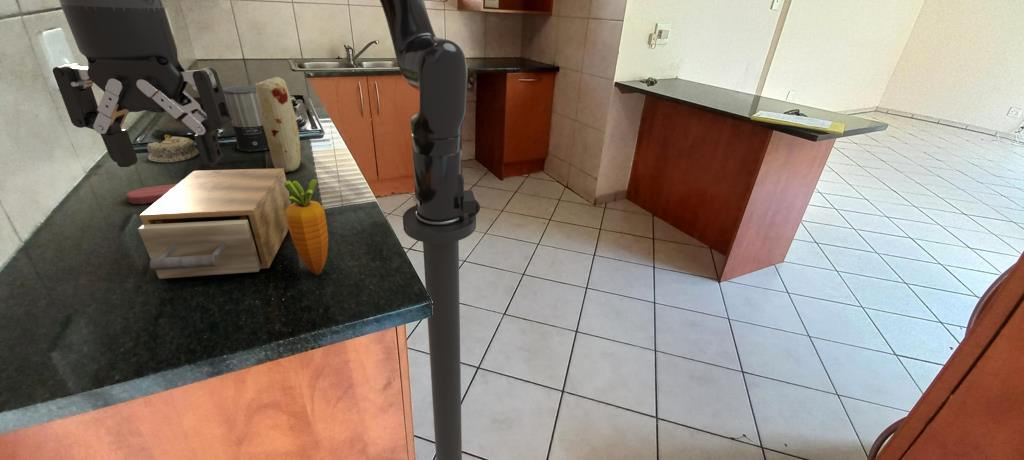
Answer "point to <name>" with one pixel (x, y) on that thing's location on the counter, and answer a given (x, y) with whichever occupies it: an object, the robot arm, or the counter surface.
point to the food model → (279, 123)
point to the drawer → (201, 246)
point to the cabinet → (231, 203)
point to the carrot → (307, 226)
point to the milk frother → (246, 117)
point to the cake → (172, 149)
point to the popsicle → (148, 194)
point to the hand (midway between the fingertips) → (170, 164)
